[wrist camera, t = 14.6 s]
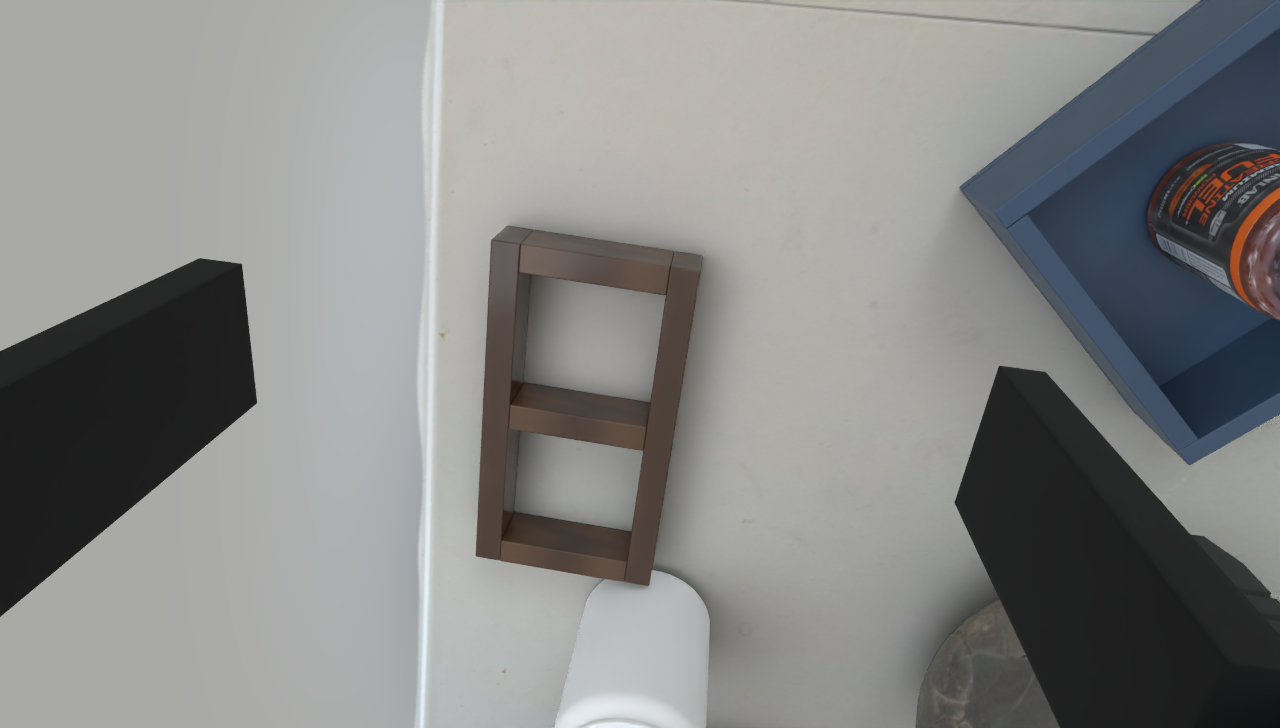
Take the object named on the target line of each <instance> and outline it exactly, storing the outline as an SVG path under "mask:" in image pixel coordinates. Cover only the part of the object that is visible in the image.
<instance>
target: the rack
mask: <svg viewBox="0 0 1280 728" xmlns="http://www.w3.org/2000/svg"><path fill="white" fill-rule="evenodd" d="M701 264H702V256H701V255H696V254H689V253H682V252H674V251H670V250H664V249H657V248H650V247H644V246H637V245H631V244H624V243H617V242H611V241H604V240H598V239H591V238H584V237H578V236H571V235H565V234H558V233H552V232H545V231H538V230H531V229H524V228H518V227H511V226H506V227H505V228H504V229H503V230H502V231H501V232H500V233H499V234H497V235H496V236H495V237H494V238H493V239H492V240H491V255H490V276H489V296H488V316H487V337H486V357H485V377H484V398H483V418H482V438H481V459H480V479H479V499H478V520H477V540H476V556H477V557H483V558H488V559H494V560H500V561H505V562H510V563H516V564H522V565H528V566H533V567H539V568H545V569H551V570H556V571H562V572H568V573H574V574H580V575H585V576H591V577H597V578H603V579H608V580H614V581H620V582H624V581H625V582H627V583H633V584H639V585H644V586H649V585H650V579H651V573H652V567H653V560H654V554H655V548H656V542H657V536H658V530H659V523H660V517H661V511H662V505H663V499H664V493H665V487H666V480H667V474H668V468H669V462H670V456H671V450H672V444H673V437H674V431H675V425H676V419H677V413H678V407H679V400H680V394H681V388H682V382H683V376H684V370H685V364H686V357H687V351H688V345H689V339H690V333H691V327H692V321H693V314H694V308H695V302H696V296H697V290H698V284H699V277H700V271H701ZM531 274H532V275H538V276H545V277H551V278H558V279H564V280H571V281H577V282H584V283H590V284H597V285H603V286H610V287H616V288H622V289H629V290H635V291H642V292H648V293H655V294H661V295H666V299H665V306H664V313H663V320H662V327H661V334H660V340H659V347H658V354H657V361H656V368H655V375H654V382H653V388H652V395H651V402H650V403H648V402H641V401H635V400H629V399H623V398H617V397H610V396H604V395H598V394H592V393H586V392H580V391H573V390H567V389H561V388H555V387H549V386H542V385H536V384H530V383H523V378H524V364H525V350H526V336H527V322H528V308H529V294H530V280H531ZM520 431H526V432H532V433H538V434H544V435H550V436H556V437H562V438H569V439H575V440H581V441H587V442H593V443H599V444H605V445H611V446H617V447H623V448H629V449H635V450H641V451H643V457H642V464H641V471H640V478H639V484H638V491H637V498H636V505H635V512H634V519H633V525H632V532H628V531H622V530H616V529H610V528H605V527H599V526H593V525H587V524H581V523H575V522H569V521H563V520H557V519H552V518H546V517H540V516H534V515H528V514H522V513H516V512H514V504H515V490H516V476H517V462H518V448H519V434H520Z"/></svg>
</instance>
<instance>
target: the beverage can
mask: <svg viewBox="0 0 1280 728" xmlns="http://www.w3.org/2000/svg"><path fill="white" fill-rule="evenodd" d="M709 637H710V619H709V614H708V611H707V608H706V606H705V604H704V602H703V601H702V599H701V598H700V596H699V595H698V594H697V593H696V592H695V590H693V589H692V588H691V587H690V586H689V585H688V584H686V583H685V582H683V581H682V580H680V579H678V578H676V577H674V576H672V575H670V574H667V573H664V572H660V571H655V570H652V573H651V579H650V585H649V586H644V585H639V584H633V583H627V582H625V581H624V582H620V581H614V580H608V579H605V580H603V581H602V582H601V583H600V584H598V585H597V586H596V587H595V588H594V590H593V591H592V592H591V594H590V595H589V597H588V599H587V602H586V604H585V608H584V612H583V616H582V620H581V624H580V628H579V631H578V635H577V639H576V643H575V647H574V651H573V655H572V659H571V663H570V667H569V671H568V675H567V679H566V683H565V686H564V690H563V694H562V698H561V702H560V706H559V710H558V714H557V718H556V722H555V726H554V728H706V716H707V690H708V663H709Z"/></svg>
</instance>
